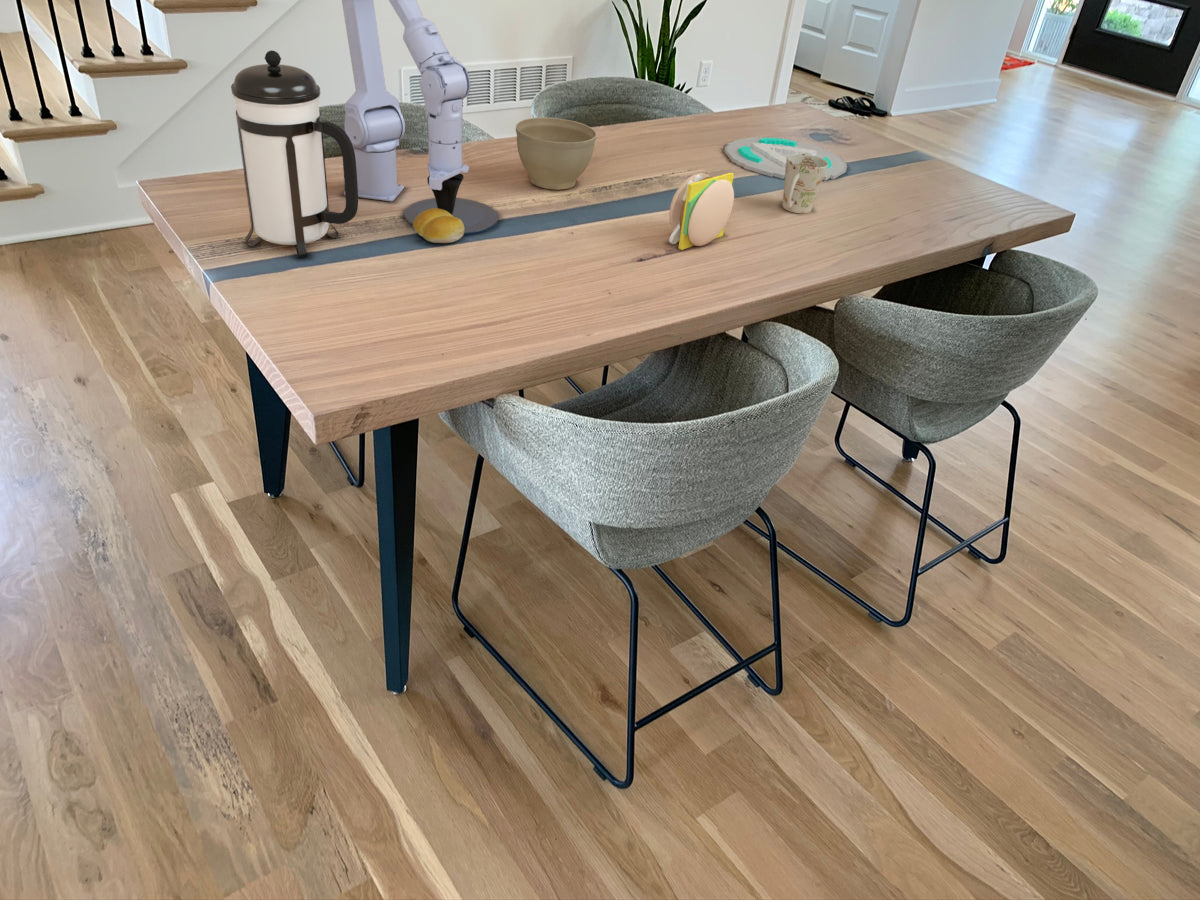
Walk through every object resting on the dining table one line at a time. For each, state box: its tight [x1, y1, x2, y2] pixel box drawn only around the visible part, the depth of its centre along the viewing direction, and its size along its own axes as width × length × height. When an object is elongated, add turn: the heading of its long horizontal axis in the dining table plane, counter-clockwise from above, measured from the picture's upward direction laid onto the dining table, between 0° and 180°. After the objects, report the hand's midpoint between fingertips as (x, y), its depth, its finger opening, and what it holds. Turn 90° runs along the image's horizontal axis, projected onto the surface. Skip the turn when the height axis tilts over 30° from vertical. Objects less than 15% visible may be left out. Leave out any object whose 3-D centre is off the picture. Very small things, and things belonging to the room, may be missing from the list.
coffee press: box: [230, 50, 359, 259], centre depth 142 cm, size 17×16×30 cm
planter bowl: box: [515, 117, 598, 191], centre depth 182 cm, size 16×16×11 cm
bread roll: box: [412, 208, 464, 244], centre depth 156 cm, size 8×9×4 cm
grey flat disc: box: [723, 136, 848, 182], centre depth 212 cm, size 28×28×2 cm
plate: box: [404, 197, 499, 236], centre depth 165 cm, size 17×17×1 cm
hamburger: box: [668, 172, 735, 251], centre depth 165 cm, size 12×8×12 cm
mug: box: [781, 154, 828, 214], centre depth 182 cm, size 8×13×10 cm, turn 155°
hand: (445, 215), depth 161 cm, fingers closed
